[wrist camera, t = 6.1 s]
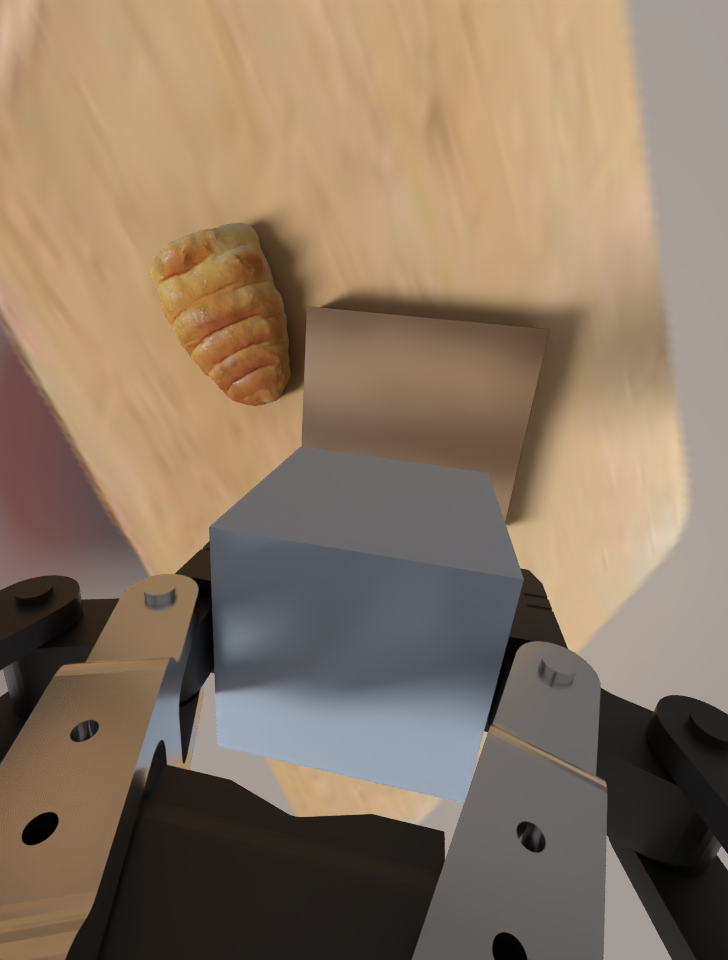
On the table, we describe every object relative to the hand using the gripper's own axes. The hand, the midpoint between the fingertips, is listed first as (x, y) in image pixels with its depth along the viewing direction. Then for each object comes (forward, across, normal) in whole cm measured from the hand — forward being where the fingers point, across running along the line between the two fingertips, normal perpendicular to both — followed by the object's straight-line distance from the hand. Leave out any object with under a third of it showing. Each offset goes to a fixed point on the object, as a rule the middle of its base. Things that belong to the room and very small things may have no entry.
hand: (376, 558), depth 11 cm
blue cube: (+1, 0, 0) cm, 1 cm away
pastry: (+16, +11, -6) cm, 20 cm away
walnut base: (+16, 0, 0) cm, 16 cm away
